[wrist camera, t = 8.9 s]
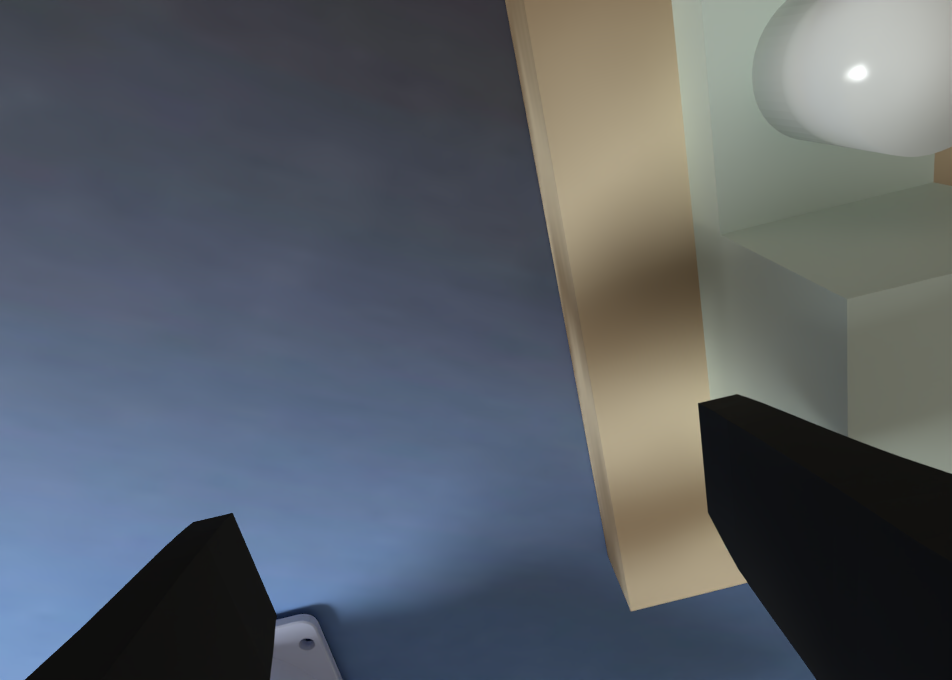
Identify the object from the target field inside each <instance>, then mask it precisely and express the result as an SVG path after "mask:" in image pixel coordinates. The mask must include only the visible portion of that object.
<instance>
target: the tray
mask: <svg viewBox="0 0 952 680" xmlns="http://www.w3.org/2000/svg"><path fill="white" fill-rule="evenodd" d="M671 1H672V11H673V22H674V32H675V42H676V52H677V63H678V73H679V83H680V93H681V104H682V114H683V124H684V135H685V145H686V155H687V165H688V176H689V186H690V196H691V206H692V217H693V227H694V237H695V247H696V258H697V268H698V278H699V288H700V299H701V309H702V319H703V329H704V340H705V350H706V360H707V371H708V381H709V391H710V400H714V399H718V398H722V397H727V396H731V395H735V394H739V395H742V396H745V397H748V398H751V399H754V400H756V401H759V402H762V403H764V404H767V405H769V406H772V407H774V408H777V409H779V410H782V411H784V412H787V413H789V414H792V415H794V416H797V417H799V418H802V419H804V420H807V421H809V422H812V423H814V424H816V425H819V426H821V427H824V428H826V429H829V430H831V431H834V432H836V433H839V434H842V435H844V436H847V437H849V438H852V439H854V440H857V441H860V442H862V443H865V444H868V445H870V446H873V447H876V448H878V449H881V450H884V451H887V452H889V453H892V454H895V455H898V456H900V457H903V458H906V459H909V460H912V461H915V462H918V463H921V464H924V465H927V466H930V467H933V468H936V469H939V470H942V471H945V472H948V473H951V474H952V186H950V185H945V184H940V183H935V182H934V160H935V153H937V152H940V151H943V150H945V149H947V148H950V147H952V0H671ZM724 545H725V544H724ZM725 547H726V546H725ZM726 549H727V548H726Z"/></svg>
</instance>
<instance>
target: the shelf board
mask: <svg viewBox="0 0 952 680" xmlns="http://www.w3.org/2000/svg"><path fill="white" fill-rule="evenodd" d="M505 3H506V8H507V13H508V19H509V24H510V30H511V35H512V40H513V46H514V51H515V56H516V62H517V67H518V73H519V78H520V83H521V89H522V94H523V100H524V105H525V110H526V116H527V121H528V127H529V132H530V137H531V143H532V148H533V154H534V159H535V164H536V170H537V175H538V181H539V186H540V191H541V197H542V202H543V208H544V213H545V218H546V224H547V229H548V234H549V240H550V245H551V251H552V256H553V261H554V267H555V272H556V278H557V283H558V288H559V294H560V299H561V305H562V310H563V315H564V321H565V326H566V332H567V337H568V342H569V348H570V353H571V359H572V364H573V369H574V375H575V380H576V386H577V391H578V396H579V402H580V407H581V412H582V418H583V423H584V429H585V434H586V439H587V445H588V450H589V456H590V461H591V466H592V472H593V477H594V483H595V488H596V493H597V499H598V504H599V510H600V515H601V520H602V526H603V531H604V537H605V542H606V547H607V553H608V557H609V560H610V562H611V564H612V567H613V569H614V572H615V574H616V577H617V579H618V581H619V584H620V586H621V589H622V591H623V593H624V596H625V598H626V601H627V603H628V605H629V608H630V610H631V611H635V610H639V609H643V608H647V607H651V606H655V605H659V604H663V603H667V602H671V601H676V600H680V599H684V598H688V597H692V596H696V595H700V594H704V593H708V592H712V591H716V590H720V589H724V588H728V587H732V586H736V585H740V584H744V583H747V581H746V580H745V578H744V577H743V575H742V574H741V573H740V571H739V570H738V568H737V566H736V564H735V563H734V561H733V559H732V557H731V555H730V554H729V552H728V550H727V549H726V547H725V545H724V543H723V541H722V539H721V537H720V535H719V533H718V531H717V529H716V527H715V525H714V523H713V521H712V520H711V518H710V516H709V514H708V509H707V498H706V487H705V476H704V465H703V454H702V443H701V432H700V421H699V410H698V403H701V402H705V401H710V391H709V381H708V371H707V360H706V350H705V340H704V329H703V319H702V309H701V299H700V288H699V278H698V268H697V258H696V247H695V237H694V227H693V217H692V206H691V196H690V186H689V176H688V165H687V155H686V145H685V135H684V124H683V114H682V104H681V93H680V83H679V73H678V63H677V52H676V42H675V32H674V22H673V11H672V1H671V0H505ZM934 182H935V183H940V184H945V185H950V186H952V147H950V148H947V149H945V150H943V151H940V152H937V153H935V160H934Z"/></svg>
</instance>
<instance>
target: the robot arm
mask: <svg viewBox="0 0 952 680" xmlns="http://www.w3.org/2000/svg"><path fill="white" fill-rule="evenodd" d="M698 410H699V421H700V432H701V443H702V454H703V465H704V476H705V487H706V498H707V509H708V514H709V516H710V518H711V520H712V521H713V523H714V525H715V527H716V529H717V531H718V533H719V535H720V537H721V539H722V541H723V543H724V544H725V546H726V548H727V550H728V552H729V554H730V555H731V557H732V559H733V561H734V563H735V564H736V566H737V568H738V570H739V571H740V573H741V574H742V575H743V577H744V578H745V580H746V581H747V583H748V584H749V586H750V587H751V588H752V590H753V591H754V593H755V594H756V595H757V597H758V598H759V600H760V601H761V602H762V604H763V605H764V607H765V608H766V610H767V611H768V612H769V614H770V615H771V617H772V618H773V619H774V621H775V622H776V624H777V625H778V626H779V628H780V629H781V631H782V632H783V633H784V635H785V636H786V637H787V639H788V640H789V642H790V643H791V644H792V646H793V647H794V649H795V650H796V651H797V653H798V654H799V656H800V657H801V658H802V660H803V661H804V663H805V664H806V665H807V667H808V668H809V670H810V671H811V672H812V674H813V675H814V676H815V678H816V679H817V680H952V474H951V473H948V472H945V471H942V470H939V469H936V468H933V467H930V466H927V465H924V464H921V463H918V462H915V461H912V460H909V459H906V458H903V457H900V456H898V455H895V454H892V453H889V452H887V451H884V450H881V449H878V448H876V447H873V446H870V445H868V444H865V443H862V442H860V441H857V440H854V439H852V438H849V437H847V436H844V435H842V434H839V433H836V432H834V431H831V430H829V429H826V428H824V427H821V426H819V425H816V424H814V423H812V422H809V421H807V420H804V419H802V418H799V417H797V416H794V415H792V414H789V413H787V412H784V411H782V410H779V409H777V408H774V407H772V406H769V405H767V404H764V403H762V402H759V401H756V400H754V399H751V398H748V397H745V396H742V395H739V394H735V395H731V396H727V397H722V398H718V399H714V400H710V401H705V402H701V403H698ZM307 638H309V639H312V641H306V640H303V639H307ZM25 680H343V679H342V677H341V674H340V672H339V670H338V667H337V665H336V663H335V660H334V658H333V656H332V653H331V651H330V648H329V646H328V644H327V641H326V639H325V637H324V634H323V632H322V630H321V627H320V625H319V623H318V621H317V619H316V618H315V617H313V616H311V615H308V614H298V615H294V616H290V617H286V618H282V619H278V620H276V613H275V610H274V608H273V606H272V603H271V601H270V599H269V596H268V594H267V592H266V589H265V587H264V585H263V582H262V580H261V578H260V575H259V573H258V571H257V569H256V566H255V564H254V562H253V559H252V557H251V555H250V552H249V550H248V548H247V545H246V543H245V541H244V538H243V536H242V534H241V531H240V529H239V527H238V524H237V522H236V520H235V517H234V515H233V513H230V514H226V515H222V516H218V517H213V518H209V519H205V520H201V521H196V522H193V523H192V524H190V525H189V526H188V527H187V528H185V529H184V530H183V531H182V532H181V533H180V534H178V535H177V536H176V537H175V538H174V539H173V540H172V541H171V542H170V543H169V544H167V545H166V546H165V547H164V548H163V549H162V550H161V551H160V552H159V553H158V554H157V555H156V556H155V557H154V558H153V559H152V560H151V561H150V562H149V563H148V564H147V565H146V566H145V567H144V568H143V569H141V570H140V571H139V572H138V573H137V574H136V575H135V576H134V577H133V578H132V579H131V580H130V581H129V582H128V583H127V584H126V585H125V586H124V587H123V588H122V589H121V590H120V591H119V592H118V593H117V594H116V595H115V596H114V597H113V598H112V599H111V600H110V601H109V602H108V603H107V604H106V605H105V606H104V607H103V608H102V609H100V610H99V611H98V612H97V613H96V614H95V615H94V616H93V617H92V618H91V619H90V620H89V621H88V622H87V623H86V624H85V625H84V626H83V627H82V628H81V629H80V630H79V631H78V632H77V633H75V634H74V635H73V636H72V637H71V638H70V639H69V640H68V641H67V642H66V643H64V644H63V645H62V646H61V647H60V648H59V649H58V650H57V651H56V652H55V653H54V654H52V655H51V656H50V657H49V658H48V659H47V660H46V661H45V662H44V663H43V664H42V665H40V666H39V667H38V668H37V669H36V670H35V671H34V672H33V673H32V674H31V675H30V676H28V677H27V678H26V679H25Z"/></svg>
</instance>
